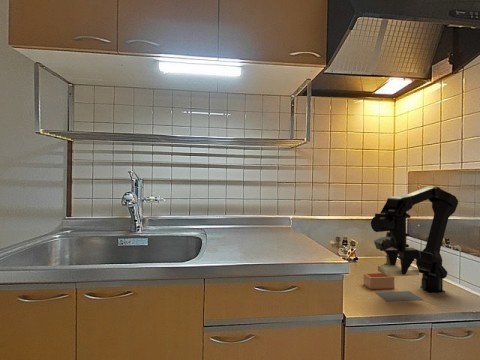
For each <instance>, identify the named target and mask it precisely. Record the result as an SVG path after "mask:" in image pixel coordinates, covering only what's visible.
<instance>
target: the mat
mask: <svg viewBox="0 0 480 360" xmlns="http://www.w3.org/2000/svg"><path fill="white" fill-rule="evenodd" d="M374 293H375V294H376V295H378V296H379V297H380V298H381V299H383V300H384V301H385V302H386V303H387V302H388V303H391V302H409V301H410V302H411V301H412V302H413V301H424V299H423V298H422V297H420V296H419V295H416V294H415V293H413V292H412V291H410V290H404V291H403V290H401V291H384V292H383V291H380V292H379V291H378V292H374Z"/></svg>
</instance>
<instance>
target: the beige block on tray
mask: <svg viewBox="0 0 480 360" xmlns="http://www.w3.org/2000/svg"><path fill="white" fill-rule="evenodd" d="M377 271H378V273H383V274H384V275H386V276H393V277H405V276H406V277H408V276H420V273H419V270H418V268H417V267H416V268H415V267H414V266H412V265H410V267H409V269H408V270H407V272H406V274H402V271H401V264H396V265H383V264H382V265H377Z"/></svg>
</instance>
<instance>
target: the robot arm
mask: <svg viewBox="0 0 480 360" xmlns="http://www.w3.org/2000/svg"><path fill="white" fill-rule="evenodd" d="M427 200H428V201H429V202H430V203H431V209H432V211H433V217H432V222H431V226H430V229H429V233H428V236H427V239H426V240H427V242H426V245H425V248H423V249H422V250H420V249H417V248H414V247H410V244H408V243H407V237H409V236H410V234H409V233H408V232H407V219H410V218H411V215H410V214H409V213H407V212H409V211H410V210H412V209H413V206H415V205H417V204H419V203H423V202H425V201H427ZM458 205H459V200H458V198H457V196H455V195H454V194H452V193H451V192H448V191H446V190H443V189H442V188H441V187H438V186H435V185H433V186H431V185H430V186H428V185H427V186H425V187H423V188H421V189H418V190H415V191H412V192H410V193H408V194H405V195H394V196H389V197H388V198H387V199H386V202H385V203H384V206H383V207H382V209H381V211H380V213H379V212H375V213H374V216H373V217H372V219H371V221H370V226H371V229H372V230H373V231H374V232H375V233H382V232H383V233H384V232H386V233H385V234H386V235H385V236H383V237H379V238H376V239H375V240H373V243H374V245H375V248H376V250H379V251H380V252H384V254H386V256H387V257H388V260H389V263H390V265H397V260H400V265H401V271H402V274H406V272H407V270H408V269H409V267H410V266H412V263H413V262H414V261H415V265H416V269H418V270H419V274H422V277H421V286H419V288H421V289H422V290H424V291H425V292H427V293H430V294H436V293H437V294H439V293H441V294H442V293H446V290H444V288H443V283H444V282H443V280H444V279H445V278H447V277H448V271H447V269H446V268H444V266H443V258H442V255H441V248H442V245H443V240H444V236H445V233H446V229H447V225H448V221H449V218H450V217H451V216H452V215H453V214H455V212H456V210H457V208H458Z"/></svg>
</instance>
